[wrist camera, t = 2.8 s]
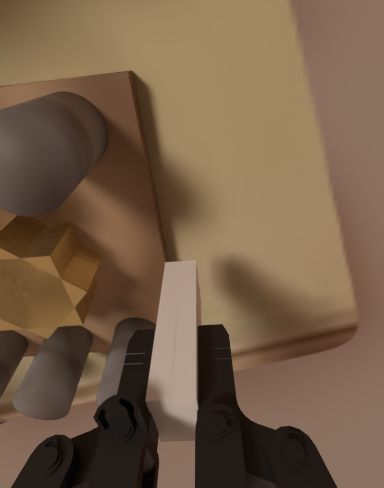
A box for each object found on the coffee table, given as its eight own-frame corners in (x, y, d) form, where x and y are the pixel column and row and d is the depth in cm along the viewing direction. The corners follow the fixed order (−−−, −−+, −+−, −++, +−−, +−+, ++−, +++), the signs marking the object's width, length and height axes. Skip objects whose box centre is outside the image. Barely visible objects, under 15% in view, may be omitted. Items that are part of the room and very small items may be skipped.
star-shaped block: (17, 304, 19) (-8, 342, 17) (-39, 216, 15) (-84, 248, 13) (116, 297, 19) (105, 335, 16) (84, 204, 15) (63, 235, 12)
